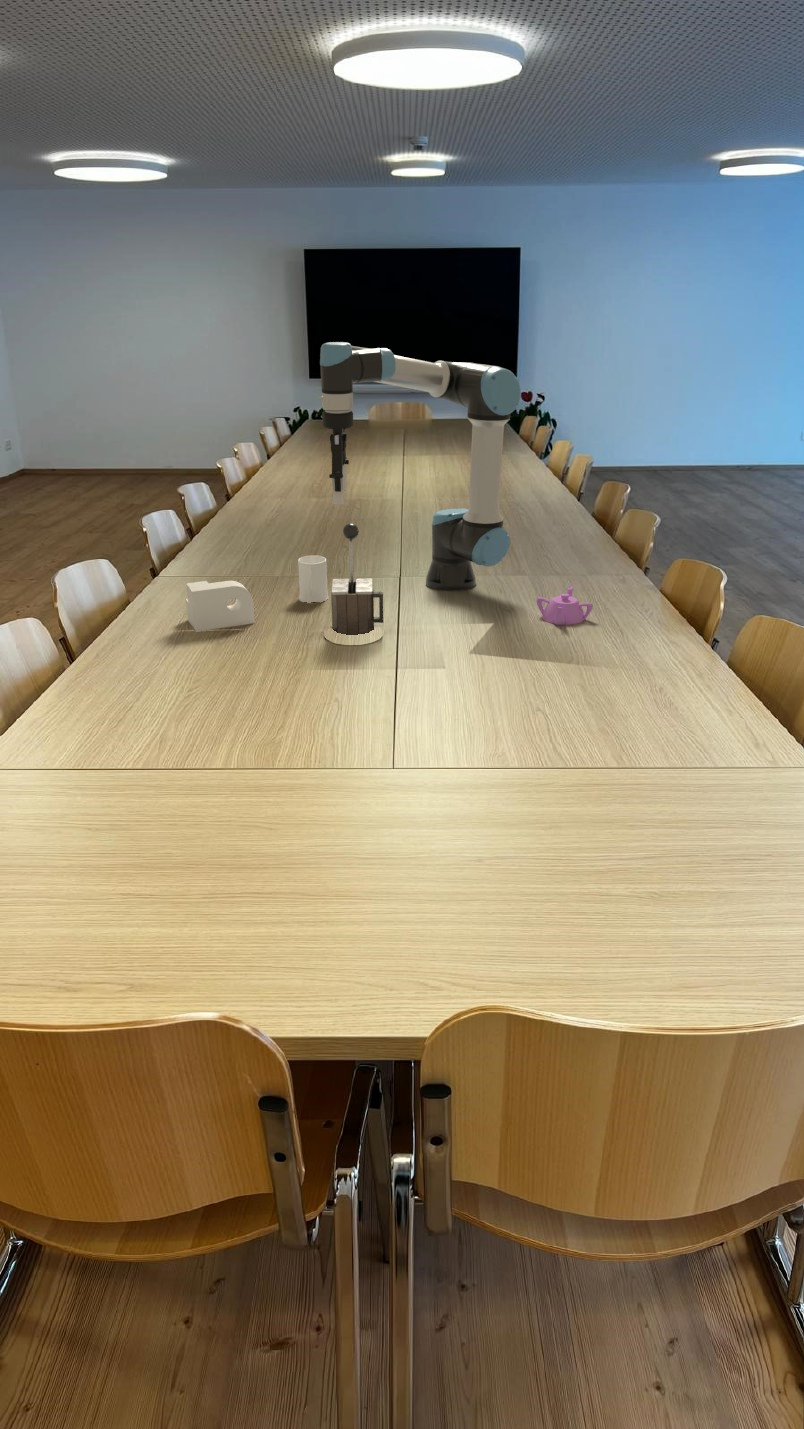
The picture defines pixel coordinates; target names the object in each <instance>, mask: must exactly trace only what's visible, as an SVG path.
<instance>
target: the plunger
mask: <svg viewBox="0 0 804 1429" xmlns="http://www.w3.org/2000/svg"><path fill="white" fill-rule="evenodd" d="M359 532H360V530H359V527H358V526H357V525H356V524H354V523H347V524H346V525H345V526H343V529H342V535H343V536H344V538H346V539H347V540H348V549H349V550H348V551H349V581H350V593H351V594H354V581H355V568H354V567H355V566H354V565H355V564H354V539H356V538H358V536H359Z"/></svg>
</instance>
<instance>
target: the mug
mask: <svg viewBox="0 0 804 1429" xmlns="http://www.w3.org/2000/svg"><path fill="white" fill-rule="evenodd" d="M297 562H298V563H297V564H298V565H297V566H298V582H299V584H298V586H299V597H298V600H299V601H300V602H302V603H304V602H307V603H306V604H312V603H311V602H320V603H324V602H323V601H325V602H327V601H328V600H329V598H330V597H329V594H328V572H327V558H326V557H324V556H323V555H322V556H321V555H317V554H316V555H315V554H314V555H312V554H311V555H305V556H301V557H299V558H298V560H297ZM327 599H328V600H327ZM326 600H327V601H326Z"/></svg>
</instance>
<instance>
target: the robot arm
mask: <svg viewBox="0 0 804 1429" xmlns="http://www.w3.org/2000/svg"><path fill="white" fill-rule="evenodd" d="M319 354H320V355H319V357H320V359H319V365H320V382H321V383H320V384H321V385H320V386H321V395H320V396H319V398H318V399H319V400H320V401H322V402H321V406H322V407H321V408H322V409H323V412H321V413H322V417H321V418H322V426H323V428H325V429H328V430H330V429H331V430H332V433H330V435H329V443H330V452H331V474H329V475H328V478H329V479H331V481H332V482H331V483H332V484H331V486H332V505H345V492H347V491H348V481H347V480H348V479H347V477H348V476H347V465H350V462H349V461H350V460H349V459H347V454H346V453H347V452H346V451H347V449H346V448H347V442H348V441H347V440H348V436H347V435H348V434H347V433H346V432H345V430H346V429H350V428H353V426H354V412H353V411H352V410H353V409H354V392H353V390H354V389H353V385H354V384H359V383H360V384H361V383H372V382H373V383H379V384H384V385H390V386H395V387H401V388H405V389H410V390H411V389H412V390H416V391H422V392H426V393H428V394H429V395H430V396H431V397H433V398H436V399H437V398H438V399H441V400H442V399H443V400H445V401H448V402H450V403H454V404H455V405H459V406H461V407H465V408H467V416H466V417H467V420H468V421H469V422H470V423H471V426H472V428H471V448H470V452H471V453H470V470H469V472H470V473H469V487H468V488H469V490H468V508H462V507H461V508H459V507H458V508H447V509H441V510H438V511H436V512H434V513H433V516H432V523H431V562H430V565H429V568H428V570H427V573H426V576H425V586H426V587H428V588H429V589H432V590H436V591H446V592H457V591H458V592H459V591H466V590H470V589H472V588H474V587H475V586H476V581H477V580H476V574H475V571H474V568H473V564H472V563H474V565H476V566H477V565H478V566H484V567H494V566H496V565H498V564H499V563H500V562H502V560H503V559H504V558H505V557H506V556H507V554H508V552H509V550H510V547H511V546H510V545H511V536H510V534H509V533H508V531H507V530H506V529H505V528H504V516H503V515H502V514H501V513H500V512H499V511H500V509H499V508H500V494H501V491H500V490H501V478H502V463H503V462H502V460H503V446H504V445H503V444H504V433H505V432H504V430H505V425H506V424H507V422H509V421H510V420H511V414H512V413H513V412H514V411H515V410H516V408H517V407H516V406H519V403H520V400H521V395H522V394H521V385H520V382H519V379H518V378H517V376H516V375H515V374H514V373H513V372H512V371H511V370H509V369H507V368H504V367H501V366H498V365H490V364H482V363H474V362H456V361H455V362H454V361H453V362H452V361H446V360H445V361H444V360H437V361H435V362H431V361H427V360H426V361H425V360H421V359H417V358H416V359H415V358H410V357H404V356H401V355H396V354H394V352H392V350H391V349H388V348H387V347H381V348H380V347H377V348H368V347H362V346H361V347H360V346H354V345H351V343H349V342H344V341H340V342H339V341H335V342H334V341H332V342H331V341H330V342H325V343H323V344H322V345H321V347H320V353H319Z"/></svg>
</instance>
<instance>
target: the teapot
mask: <svg viewBox="0 0 804 1429" xmlns="http://www.w3.org/2000/svg"><path fill="white" fill-rule="evenodd" d="M573 589H574V587H573V585H571V584H570V586H568V588H567V592H566V593H561V594H560V595H556V596H554V597H552V598H551V599H549V598H545V597H543V596H541V597H540V596H539V597H537V598H536V605H537V607H538V610H539V611H540V613H541V615H542V616H541V618H542V619H543V621H545V622H547V623H549V624H550V623H551V624H554V625H557V626H564V625H575V624H580V623H582V622H584V621H585V619H586V618H587V617H588V616H589V614H591V612H592V610H593V607H594V606H593V603H591V602H579V600H578V599H577V598H576V597H574V596H573ZM543 602H544V603H547V605H546V606H545V608H544V607H543ZM582 607H586V611H585V612H584V610H583V608H582Z"/></svg>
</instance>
